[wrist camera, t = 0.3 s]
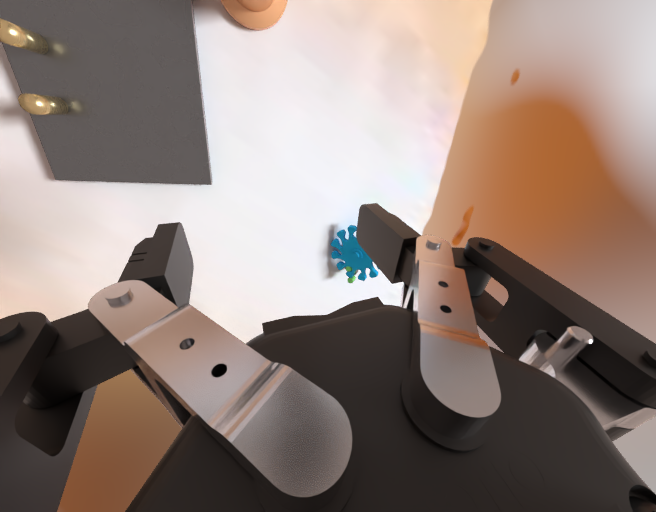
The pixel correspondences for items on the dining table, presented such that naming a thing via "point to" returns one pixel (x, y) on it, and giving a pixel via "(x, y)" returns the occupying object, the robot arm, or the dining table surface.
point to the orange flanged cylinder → (255, 12)
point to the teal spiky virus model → (352, 256)
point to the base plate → (111, 87)
